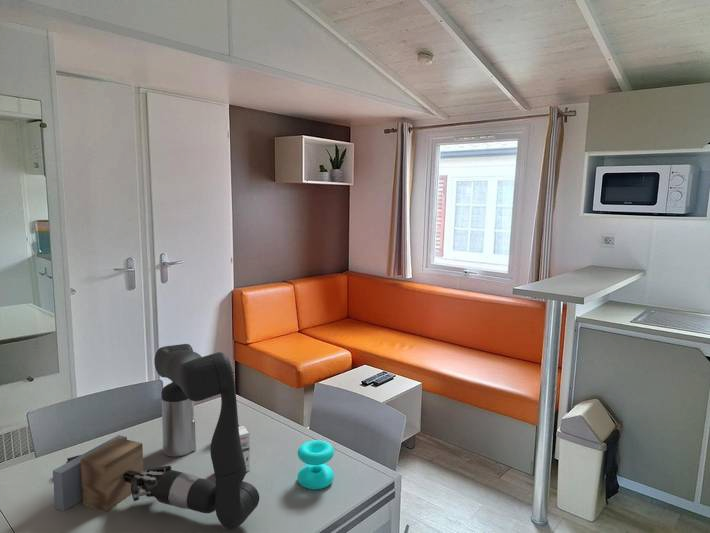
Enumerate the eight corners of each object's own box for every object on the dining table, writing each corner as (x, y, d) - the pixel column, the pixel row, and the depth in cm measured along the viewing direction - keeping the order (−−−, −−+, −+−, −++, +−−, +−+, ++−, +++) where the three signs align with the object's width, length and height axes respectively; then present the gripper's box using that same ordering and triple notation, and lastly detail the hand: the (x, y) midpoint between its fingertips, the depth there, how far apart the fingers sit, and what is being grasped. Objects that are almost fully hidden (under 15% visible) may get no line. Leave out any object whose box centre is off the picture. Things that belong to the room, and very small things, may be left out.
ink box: (221, 479, 131) (220, 439, 129) (215, 471, 135) (214, 432, 133) (250, 470, 135) (250, 431, 134) (244, 463, 139) (243, 425, 138)
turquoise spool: (317, 434, 137) (341, 446, 130) (317, 467, 138) (341, 481, 131) (290, 446, 130) (314, 460, 123) (290, 481, 131) (314, 496, 124)
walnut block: (144, 485, 128) (142, 442, 126) (107, 511, 116) (105, 465, 115) (120, 479, 130) (119, 437, 129) (83, 504, 119) (80, 459, 118)
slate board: (128, 470, 135) (126, 436, 134) (63, 511, 116) (61, 473, 115) (120, 467, 136) (118, 434, 135) (55, 508, 117) (52, 470, 116)
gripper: (198, 461, 121) (144, 449, 127) (160, 490, 109) (103, 474, 115) (198, 489, 122) (145, 475, 128) (161, 520, 110) (105, 503, 116)
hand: (126, 475), depth 121 cm, fingers closed
